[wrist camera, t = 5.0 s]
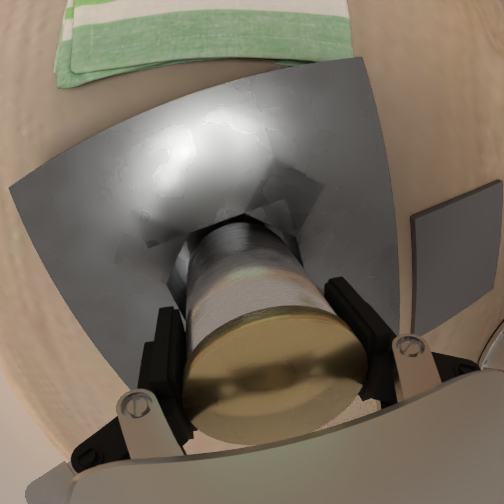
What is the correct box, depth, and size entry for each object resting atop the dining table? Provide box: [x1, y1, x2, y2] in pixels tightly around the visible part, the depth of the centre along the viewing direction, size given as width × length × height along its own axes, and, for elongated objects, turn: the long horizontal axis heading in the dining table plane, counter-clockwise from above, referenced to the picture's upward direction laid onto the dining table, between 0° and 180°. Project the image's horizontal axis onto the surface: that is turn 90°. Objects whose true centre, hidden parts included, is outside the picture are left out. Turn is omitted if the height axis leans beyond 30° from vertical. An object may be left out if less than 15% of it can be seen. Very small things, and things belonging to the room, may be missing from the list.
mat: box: [410, 180, 503, 336], centre depth 23 cm, size 13×13×1 cm
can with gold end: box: [182, 223, 368, 445], centre depth 12 cm, size 6×6×8 cm
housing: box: [9, 57, 400, 390], centre depth 17 cm, size 18×18×4 cm
